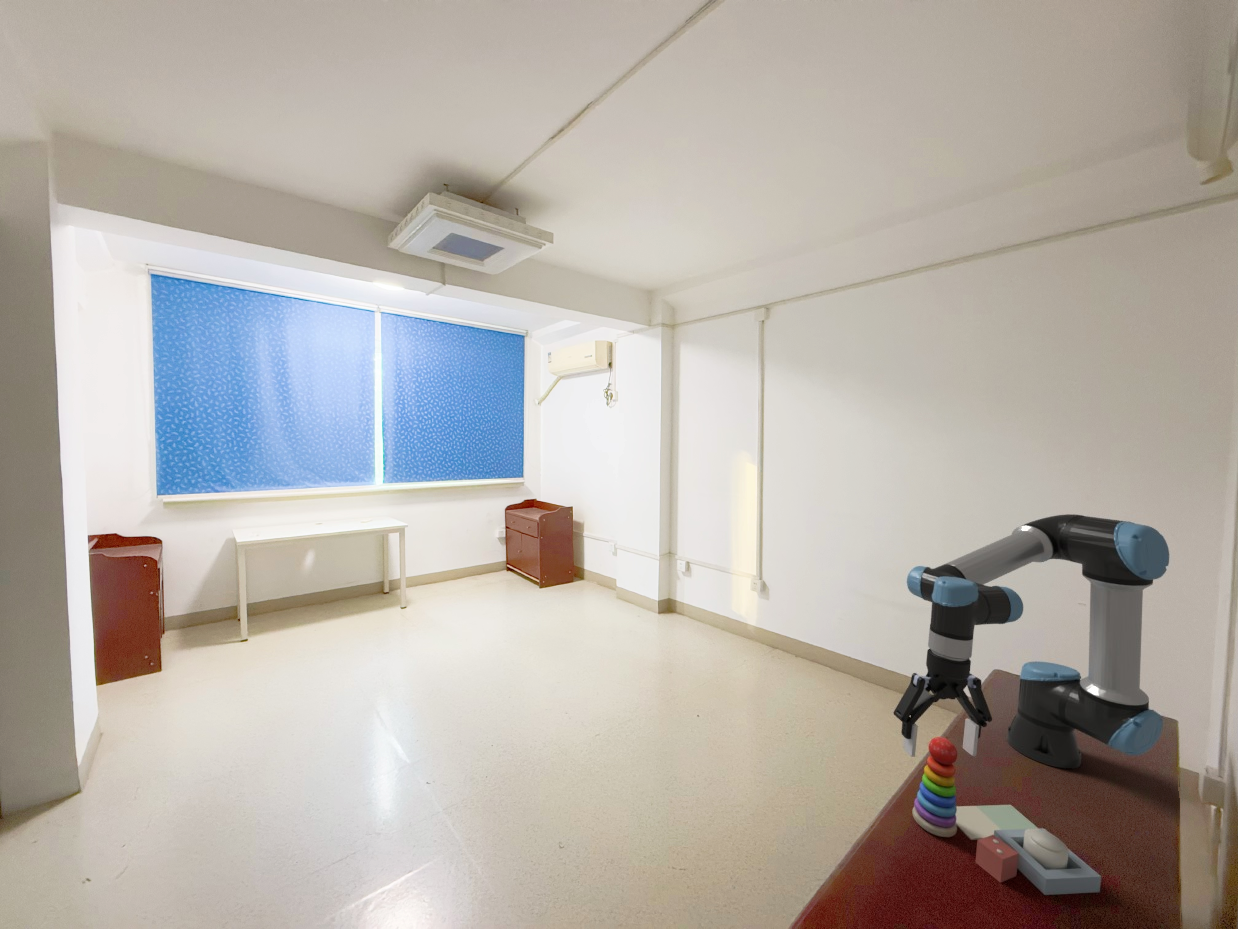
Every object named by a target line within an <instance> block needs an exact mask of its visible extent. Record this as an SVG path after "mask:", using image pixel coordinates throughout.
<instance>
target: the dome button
mask: <svg viewBox="0 0 1238 929" xmlns="http://www.w3.org/2000/svg"><path fill="white" fill-rule="evenodd" d="M1023 849H1024V850H1025V851H1026V852H1027V853H1028V854H1029V855H1030V856H1031V857H1032V858H1033V859H1035V860H1036V861H1037V862H1038V863H1039V864H1040V865H1041V866H1042V867H1043V868H1044V869H1045V870H1056V869H1067V863H1068V853H1069V851H1068V849H1069V848H1068V847H1067V845H1066V844H1065V843H1064V842H1063V841H1062V840H1061V839H1059V838H1058V837H1057V836H1055V835H1054V834H1053V833H1051V832H1049V831H1048V832H1046V831H1044V830H1040V829H1033V828H1030V829H1026V830H1025V833H1024V843H1023Z"/></svg>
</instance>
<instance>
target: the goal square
mask: <svg viewBox="0 0 1238 929" xmlns="http://www.w3.org/2000/svg"><path fill="white" fill-rule="evenodd" d="M975 806H976V807H977V808H978V809H979V810H981V811H982V812H983V813H984V814H985V815H986V816H987V817H988V818H989V819H990V820H991V821H992V822H994V823H995V824H996V825H997V826H998V827H999V828H1000V829H1001V830H1012V829H1030V828H1033V829H1038V828H1039V827H1037V826H1036V825H1035V824H1034V823H1033V822H1032V821H1031V820H1029V819H1028V818H1027V817H1026V816H1024V815H1023V814H1022V813H1021V812H1020V811H1019V810H1017V809H1016V808H1015V807H1014V806H1013V805H1011V804H996V805H994V804H993V805H991V804H989V805H988V804H987V805H975Z"/></svg>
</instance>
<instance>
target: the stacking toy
mask: <svg viewBox="0 0 1238 929" xmlns="http://www.w3.org/2000/svg"><path fill="white" fill-rule="evenodd" d="M928 751H929V754H930V756H928V757H927V760H926V764H925V766H924V768H923V772H924V773H923V775H922V778H921V780H922V781H921V782H920V784H919V790H918V791H917V793H916V797H915V799H914V800H913V801H914V803H913V804H914V806H913V808H912V810H911V811H912V813H911V814H912V817H913V819H914V821H916V823H917V824H918V825H919V826H920V827H921V828H922V829H923V830H925V831H927V832H928V833H930V834H932V835H934V836H937V837H943V838H950V837H951V838H952V837H954V836H955V835H956V834H957V833H958V832H957V831H958V826H957V825H956V811H957V808H956V806H957V805H956V801H957V798H956V792H957V789H956V785H955V784H956V778H955V776H954V775H955V774H956V770H957V769H956V767H955V765H954V763H955V762H956V761H957V759H958V750H957V748H956V746H955V744H954V743H953V742H952V741H950V740H949V739H947V738H945V737H942V736H935V737H933V738H931V740H930V741H929V743H928Z"/></svg>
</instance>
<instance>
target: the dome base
mask: <svg viewBox="0 0 1238 929" xmlns="http://www.w3.org/2000/svg"><path fill="white" fill-rule="evenodd" d="M1037 828H1038V829H1040V830H1044V831H1046V832H1049V831H1048V830H1047V829H1045V828H1043V827H1042V828H1041V827H1040V828H1039V827H1037ZM1025 830H1026V829H1012V830H994V836H996V837H997V838H999V839H1000V840H1001V841H1003V842H1004V843H1005V844H1007V845H1008V846H1009V847H1011V848H1012V849H1014V850H1015V851H1016V852H1018V853H1019V855H1018V865H1017V870H1018V871H1020V873H1022V875H1023V876H1024V877H1026V878H1027V879H1028V880H1029V881H1030V883H1031V884H1033V886H1035V888H1037V889H1038V890H1039V891H1040V892H1041V893H1042V894H1043V895H1044V896H1050V895H1052V896H1053V895H1054V896H1055V895H1069V894H1073V895H1074V894H1087V893H1091V894H1092V893H1100V892H1101V884H1102V883H1101V882H1102V876H1101V875H1100V874H1099V873H1098V872H1097V871H1095V870H1094V869H1093V868H1092V867H1091V866H1090V865H1088V864H1087V863H1086V862H1085V861H1083V860H1082V859H1081V858H1080V857H1079V856H1077V854H1075V853H1074V852H1073V851H1072V850H1071V849H1069V848H1068V851H1069V853H1068V863H1067V869H1056V870H1045V869H1044V868H1043V867H1042V866H1041V865H1040V864H1039V863H1038V862H1037V861H1036V860H1035V859H1033V858H1032V857H1031V856H1030V855H1029V854H1028V853H1027V852H1026V851H1025V850H1024V849H1023V843H1024V833H1025Z"/></svg>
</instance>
